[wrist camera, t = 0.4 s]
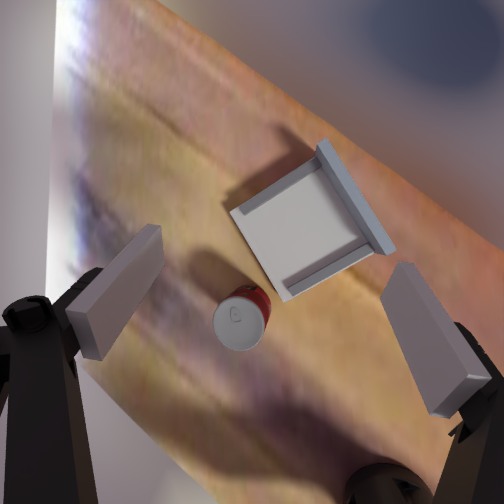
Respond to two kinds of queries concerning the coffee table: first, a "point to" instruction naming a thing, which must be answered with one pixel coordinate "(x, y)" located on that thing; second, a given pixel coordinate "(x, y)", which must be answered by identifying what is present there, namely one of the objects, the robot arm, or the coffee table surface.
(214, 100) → the coffee table surface
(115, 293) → the robot arm
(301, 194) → the dock
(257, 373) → the coffee table surface
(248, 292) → the canned food
